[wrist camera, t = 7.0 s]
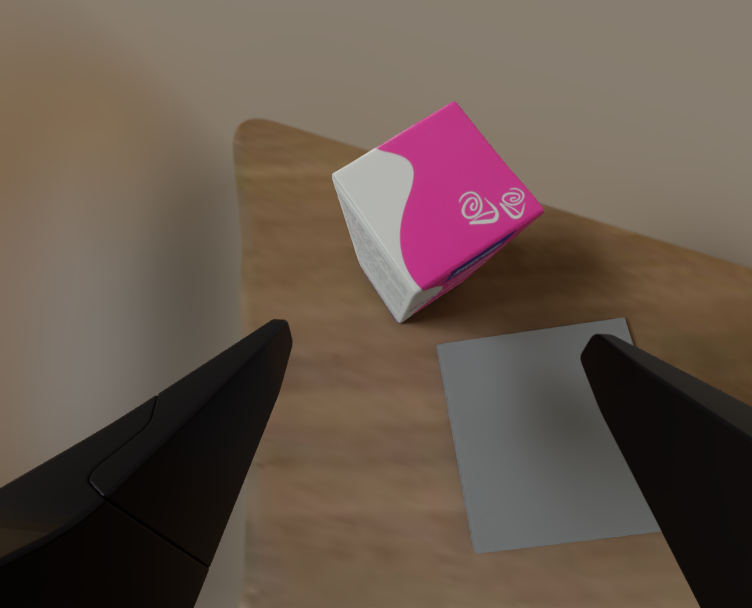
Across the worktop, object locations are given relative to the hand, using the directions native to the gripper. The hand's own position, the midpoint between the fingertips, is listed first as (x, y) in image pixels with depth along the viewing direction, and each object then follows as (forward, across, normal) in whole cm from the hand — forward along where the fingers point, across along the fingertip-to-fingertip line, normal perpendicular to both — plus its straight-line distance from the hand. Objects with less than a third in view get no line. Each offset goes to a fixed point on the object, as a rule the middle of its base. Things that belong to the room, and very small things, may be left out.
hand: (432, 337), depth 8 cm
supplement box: (+12, 0, +5) cm, 13 cm away
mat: (+5, -10, +12) cm, 16 cm away
